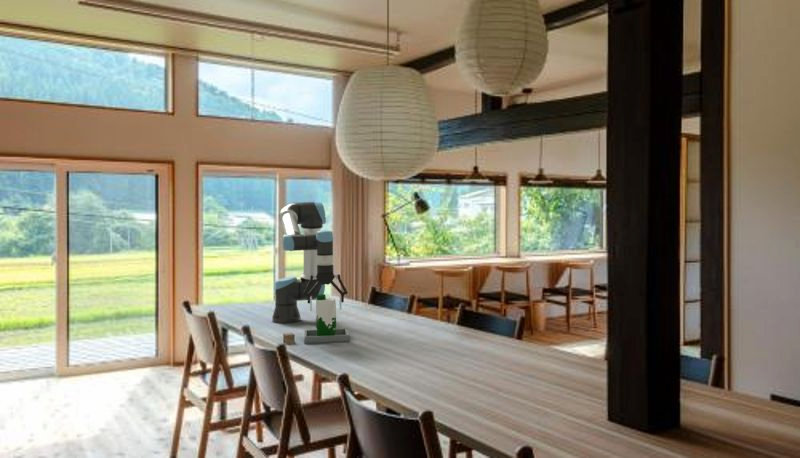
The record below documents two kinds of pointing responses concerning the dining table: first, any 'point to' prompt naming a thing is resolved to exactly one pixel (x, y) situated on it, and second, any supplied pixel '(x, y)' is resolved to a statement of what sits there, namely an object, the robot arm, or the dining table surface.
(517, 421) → the dining table surface
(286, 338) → the walnut block
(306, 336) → the tray
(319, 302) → the soya milk
